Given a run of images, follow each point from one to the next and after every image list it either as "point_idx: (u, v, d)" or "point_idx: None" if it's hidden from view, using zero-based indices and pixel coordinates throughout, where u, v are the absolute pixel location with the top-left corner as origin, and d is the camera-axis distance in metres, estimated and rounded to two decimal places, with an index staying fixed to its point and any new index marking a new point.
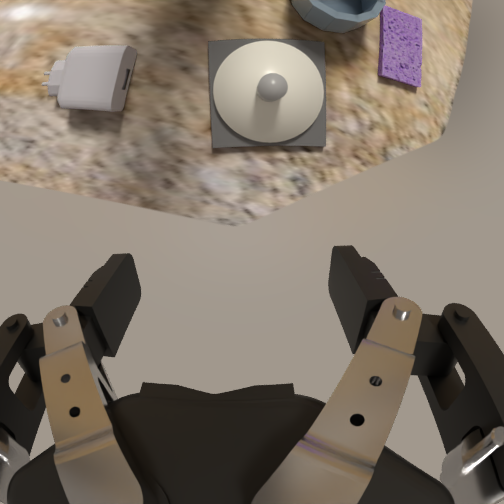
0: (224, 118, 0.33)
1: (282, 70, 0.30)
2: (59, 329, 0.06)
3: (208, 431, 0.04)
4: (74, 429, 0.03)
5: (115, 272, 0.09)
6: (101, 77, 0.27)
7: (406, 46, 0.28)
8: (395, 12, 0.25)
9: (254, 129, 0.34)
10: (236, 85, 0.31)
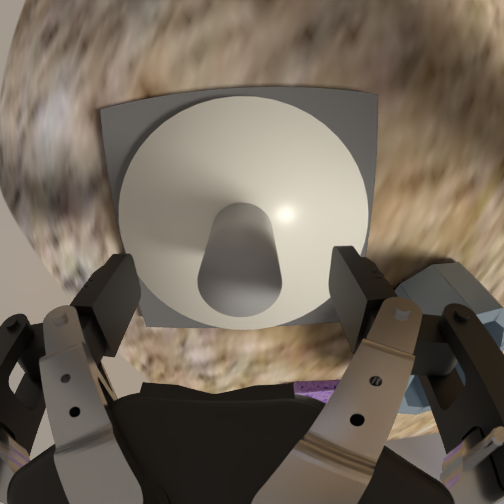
0: (162, 129, 0.12)
1: (292, 257, 0.16)
2: (59, 329, 0.06)
3: (208, 431, 0.04)
4: (74, 429, 0.03)
5: (115, 272, 0.09)
6: None
7: None
8: None
9: (142, 202, 0.14)
10: (252, 154, 0.13)
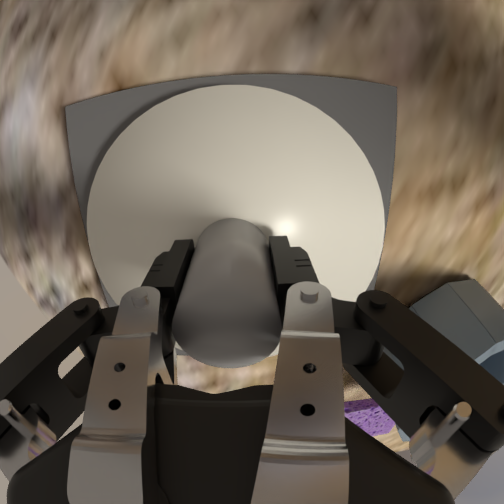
0: (133, 128, 0.10)
1: None
2: (145, 309, 0.07)
3: (208, 431, 0.04)
4: (107, 421, 0.04)
5: (185, 255, 0.10)
6: None
7: None
8: None
9: (112, 217, 0.11)
10: (245, 157, 0.11)
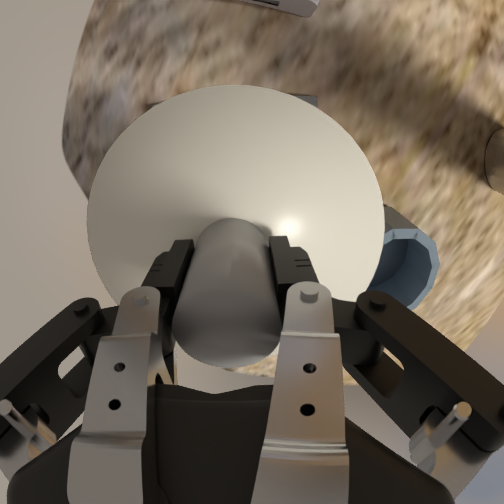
0: (134, 127, 0.10)
1: None
2: (145, 309, 0.07)
3: (208, 431, 0.04)
4: (107, 421, 0.04)
5: (185, 255, 0.10)
6: None
7: None
8: None
9: (113, 217, 0.11)
10: (245, 157, 0.11)
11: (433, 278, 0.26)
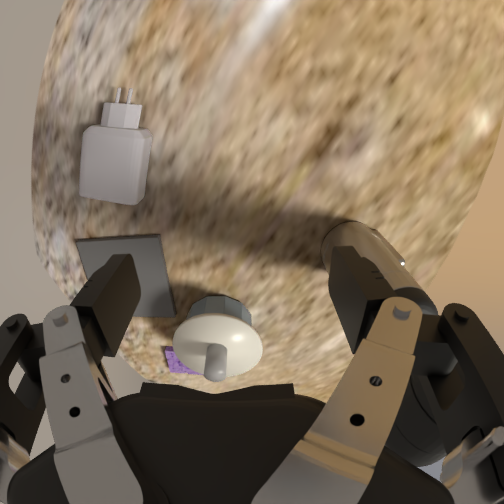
0: (187, 323, 0.39)
1: (235, 357, 0.43)
2: (59, 329, 0.06)
3: (208, 431, 0.04)
4: (74, 429, 0.03)
5: (115, 272, 0.09)
6: (104, 184, 0.32)
7: None
8: None
9: (181, 341, 0.41)
10: (218, 331, 0.40)
11: None
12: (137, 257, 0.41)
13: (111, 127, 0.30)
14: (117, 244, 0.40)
